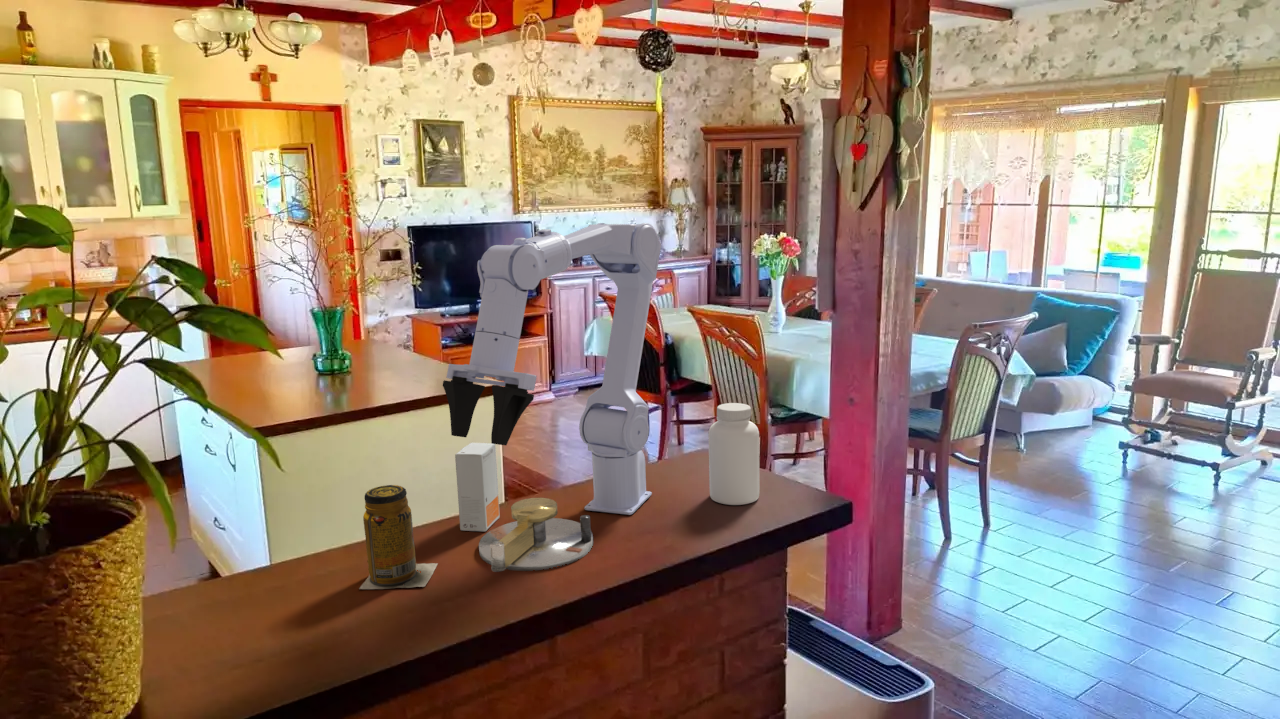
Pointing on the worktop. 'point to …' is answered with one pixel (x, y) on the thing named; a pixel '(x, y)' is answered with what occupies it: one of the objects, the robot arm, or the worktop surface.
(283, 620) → the worktop surface
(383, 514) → the condiment
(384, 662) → the worktop surface
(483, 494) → the skincare box
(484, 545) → the grey round base plate
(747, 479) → the pill bottle
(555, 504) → the brass latch lever
